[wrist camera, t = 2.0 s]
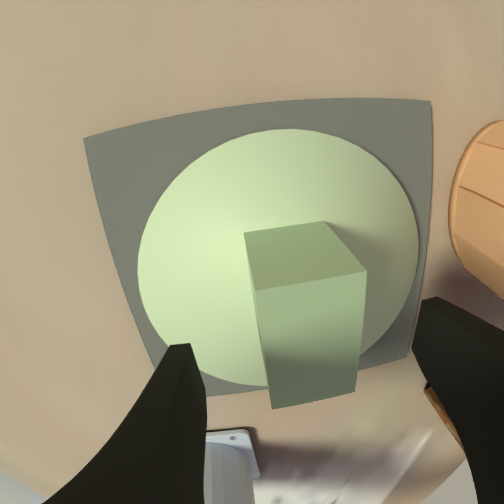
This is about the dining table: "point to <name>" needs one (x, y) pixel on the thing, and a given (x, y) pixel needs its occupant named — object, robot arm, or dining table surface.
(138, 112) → the dining table surface
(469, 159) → the bowl
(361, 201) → the lid
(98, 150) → the mat
